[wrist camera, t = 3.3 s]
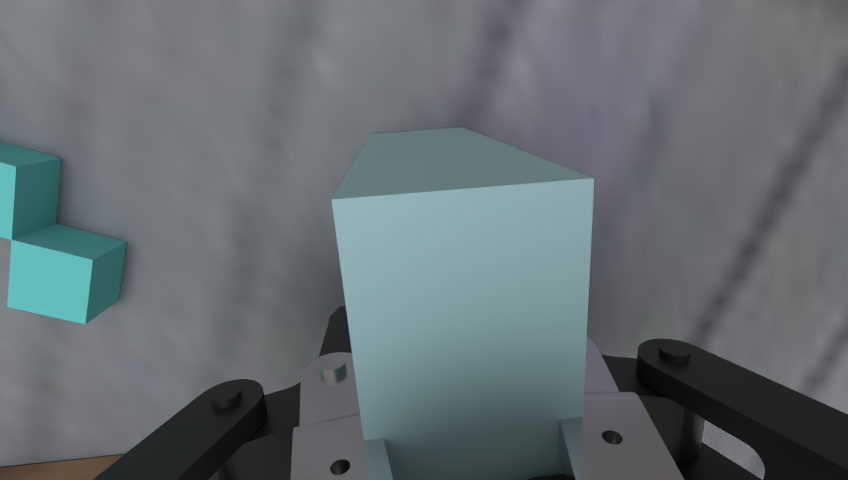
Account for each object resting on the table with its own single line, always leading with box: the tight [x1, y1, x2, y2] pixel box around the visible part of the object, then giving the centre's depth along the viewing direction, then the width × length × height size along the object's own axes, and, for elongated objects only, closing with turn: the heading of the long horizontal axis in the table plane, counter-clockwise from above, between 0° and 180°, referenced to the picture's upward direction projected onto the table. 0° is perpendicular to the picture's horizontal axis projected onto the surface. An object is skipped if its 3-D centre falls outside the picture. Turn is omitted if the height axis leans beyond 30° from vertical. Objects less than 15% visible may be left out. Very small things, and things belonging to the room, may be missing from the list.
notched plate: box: [332, 127, 594, 480], centre depth 11 cm, size 3×10×10 cm, turn 4°
